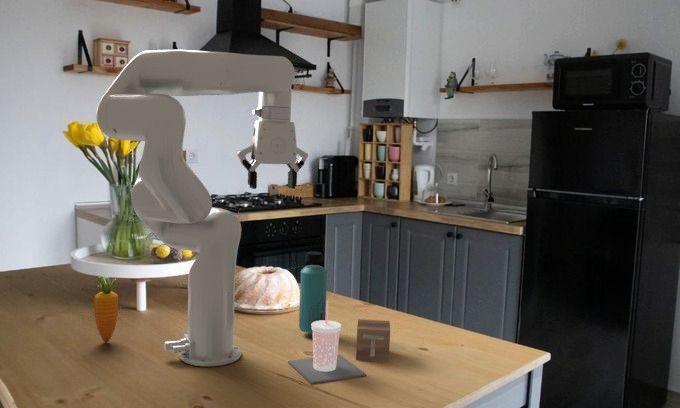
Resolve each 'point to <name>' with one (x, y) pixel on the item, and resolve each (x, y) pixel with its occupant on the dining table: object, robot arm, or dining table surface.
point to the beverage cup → (325, 343)
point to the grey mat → (314, 376)
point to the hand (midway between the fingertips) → (272, 188)
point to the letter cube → (373, 340)
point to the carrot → (106, 309)
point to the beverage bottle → (312, 292)
